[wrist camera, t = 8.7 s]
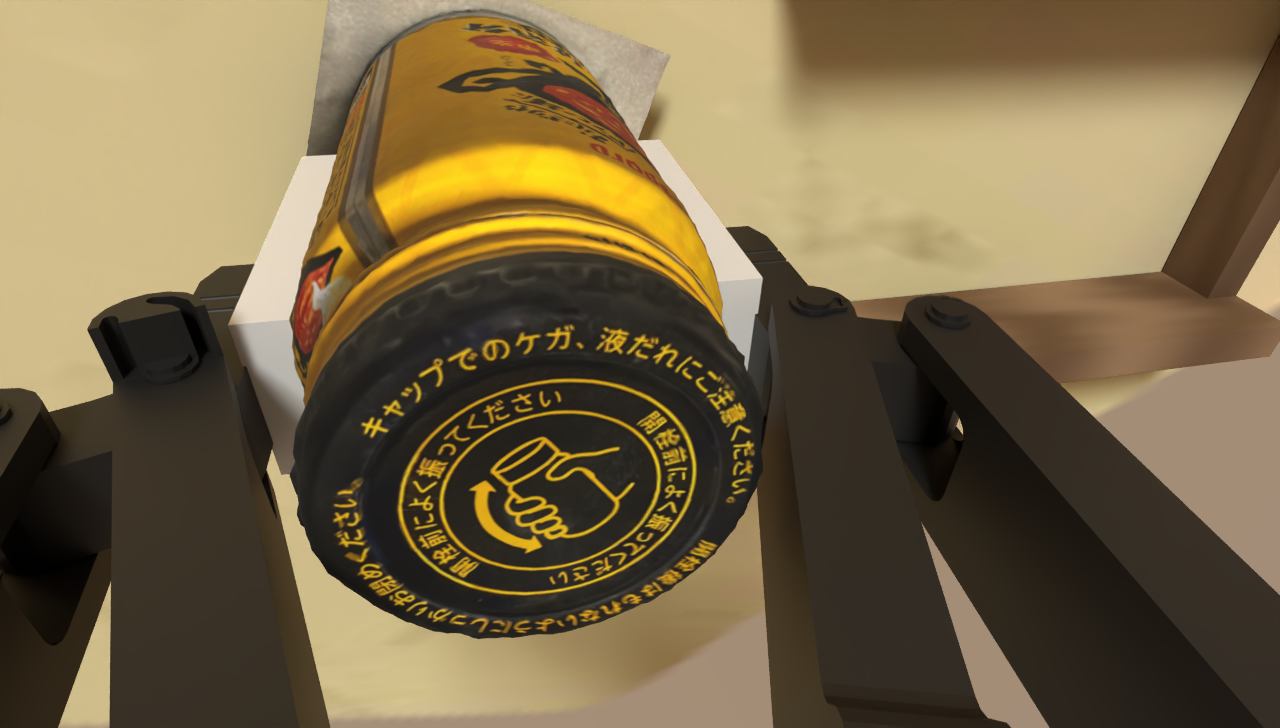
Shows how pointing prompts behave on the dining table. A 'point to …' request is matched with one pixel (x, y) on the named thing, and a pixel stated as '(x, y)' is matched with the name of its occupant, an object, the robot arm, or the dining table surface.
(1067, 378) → the walnut shelf lane
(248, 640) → the robot arm
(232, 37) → the dining table surface
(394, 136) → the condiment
